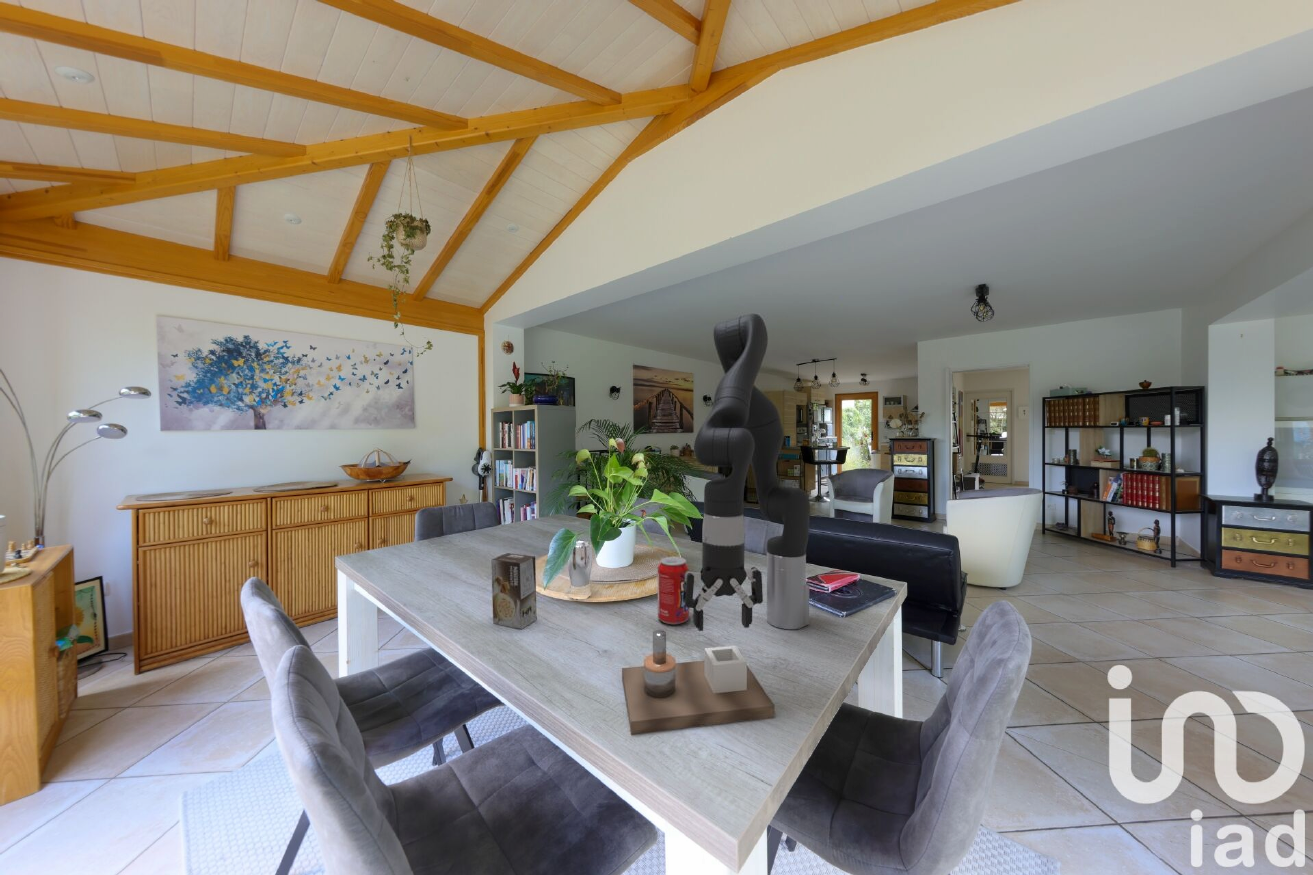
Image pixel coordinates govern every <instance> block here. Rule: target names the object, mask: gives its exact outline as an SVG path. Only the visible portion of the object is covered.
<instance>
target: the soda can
mask: <svg viewBox="0 0 1313 875" xmlns="http://www.w3.org/2000/svg"><path fill="white" fill-rule="evenodd" d="M659 561H660V562H659V564H658V566H657V618H658V620H660V621H661V622H663V623H665V624H667V625H672V626H673V625H674V626H675V625H681V624H683V623H685V622H687V621H688V620H689V619H690V608H687V607H686V605H685V603H684V602H683V590H684V575H685V571H686V570H689V571H690V566H689V564H688V563H687V559H685V558H683V557H679V556H668V557H667V556H666V557H663V558H661V559H660V560H659Z"/></svg>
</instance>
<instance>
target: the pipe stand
mask: <svg viewBox="0 0 1313 875" xmlns="http://www.w3.org/2000/svg"><path fill="white" fill-rule="evenodd" d="M621 679H622V680H621V681H622V687H623V692H624V698H625V700H624V701H625V705H626V706H625V707H626V711H627V712H626V713H627V716H628V717H627V718H628V722H629V730H630V734H631V735H633V734H634V735H635V734H642V733H643V734H644V733H652V732H659V731H669V730H677V729H686V728H693V727H701V726H712V725H719V724H728V723H729V724H730V723H736V722H737V723H738V722H747V721H755V720H762V719H764V720H765V719H770V718H772V719H773V718H776V717H775V715H776V714H775V708H776V707H775V704H774V702H773V701H772V699H771V697H769V695H768V693H767V692H766V691H765V689H764V688H763V686H762V685H761V683H760V682H759V680H758V679H757V678H756V676H755V674H753V672H752V670H751V669H750V667H749V666H748V665H747V690H742V691H732V692H723V693H713V691H712V689H711V687H710V685H709V683H708V681H707V679H706V677H705V663H704V660H697V661H695V660H694V661H686V662H684V661H683V662H676V658H675V657H674V656H672V655H671V654H668V653H667V631H665V630H662V629H657V630H656V629H655V630H654V631H653V632H652V654H649V655H647V656H645V658H643V666H642V665H640V666H630V667H622V668H621Z"/></svg>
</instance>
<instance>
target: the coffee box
mask: <svg viewBox="0 0 1313 875" xmlns="http://www.w3.org/2000/svg"><path fill="white" fill-rule="evenodd" d="M490 561H491V563H490V564H491V590H492V591H491V594H492V595H491V598H492V599H491V600H492V624H494V625H499V626H505V627H509V628H514V629H520V630H523V629H525V628H526V627H527V626H529V625H531V624H533V623H534V622H535V621H536V620H538V618H537V616H538V615H537V612H538V611H537V576H536V575H537V573H536V556H535V555H527V554H519V553H518V554H517V553H511V552H510V553H509V552H508V553H504V554H501V555H499V556H496V557H495V558H493V559H491V560H490Z"/></svg>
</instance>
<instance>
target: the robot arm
mask: <svg viewBox="0 0 1313 875" xmlns="http://www.w3.org/2000/svg"><path fill="white" fill-rule="evenodd" d="M768 340H769V338H768V331H767V327H766V324H765V321H764V319H763V318H762V316H760V315H759V314H757V313H747V314H744V315H740V316H737V317H735V318H734V317H733V318H731V319H727V320H724V321H720V322H718V323H717V324H715V326H714V328H713V341H714V342H713V343H714V346H715V350H716V353H717V356H718V358H719V361H720V364H721V367H722V369H723V372H724V375H723V377H722V378H721V380H720V381H719V383H718V385H717V387H716V390H715V393H714V397H713V403H712V408H711V411H710V413H709V414H708V415H707V417H706V419H705V421H704V422H703V424H702V426H701V427H700V429H699V430H698V431H697V435H696V436H695V439H694V444H693V453H694V456H695V459H696V461H697V462H698V463H699V464H700V465H702V466H705V467H713V468H714V467H717V468H719V467H720V468H721V467H722V468H732V471H731V474H730V475H729V476H727V477H725V478H719V479H712V480H709V481H707V482H706V483H705V485H704V491H703V496H704V497H703V498H704V499H703V521H702V536H701V537H702V538H701V539H702V542H701V543H702V548H701V549H702V550H701V551H702V556H701V559H702V560H701V569H700V571H699V572H698V571H697V572H696V571H691V570H690V569H689V570H686V571H685V575H684V590H683V602H684V603H685V605H686V607H687V608H689V609H690V608H691V609H693V611H692V613H693V615H692V616H693V617H692V618H693V619H692V620H693V621H692V622H693V624H694V626H695V628H696V629H697V631H698V632H703V631H704V610H703V608H704V607H705V606H706V604H707V602H710V601H711V599H712V598H713V597H714V596H715V597H716V598H717V597H723V596H726V597H727V596H728V597H731V596H732V597H734V595H735V594H737V596H738V597H739V598H740V600H741V601H742V602H743V603H741V625H742V626H743V627H744V628H745V629H747V628H750V625H752V623H753V607H754V606H755V605H757V604H762V603H763V601H764V596H763V593H764V592H763V574H762V571H760V570H759V569H758V568H757V567H754V566H752V567H751V568H750V569H745V541H746V532H745V519H744V518H745V517H744V492H745V486H746V481H747V476H748V472H749V468H750V465H751V470H752V474H753V479H754V483H755V489H756V495H757V496H756V497H757V502H758V506H759V509H760V510H759V511H760V513H761V515H762V516H763V518H764V519H765V520H766V521H768V522H770V523H775V524H779V525H782V526H783V527H782V528H783V530H782V534H781V535H776V536H773V537H770V538H768V540H767V542H766V621H767V623H768V624H770V625H771V626H773V627H776V628H779V629H785V630H799V629H801V628H804V627H805V626H810V586H809V585H808V584H807V583H806V582H807V581H806V580H807V565H806V564H807V559H806V558H807V545H808V542H809V536H810V522H811V521H810V517H811V502H810V497H809V495H808V493H807V491H805V490H804V489H801V488H798V487H791V486H782V485H781V483H780V480H779V477H778V473H777V472H778V471H777V461H778V458H779V455H780V453H781V449H782V446H783V443H784V438H785V435H784V430H783V425H782V424H783V423H782V421H781V417H780V413H779V410H778V408H777V406H776V405H775V403H774V402H773V401H772V400H771V399H770V398H769V397H768V396H767V395H766V394H765V393H764V392H763V391H762V390H760V389H759V388H758V387H757V386H756V385H755V382H756V380H757V376H758V374H759V372H760V369H761V366H762V364H763V360H764V358H765V355H766V351H767V350H768V348H767V347H768V342H769V341H768ZM746 579H748V580H749V581H750V584H751V585H750V588H751V595H748V593H747V592H746V591H745V590H744V589H743V587H742V585H743V584H744V582H745V581H746ZM699 580H701V582H702V583H703V584H702V585H701V587H700V588H699V591H698V593H697V595H696V596H695V597H694V587H695V585H697V584H698V581H699Z"/></svg>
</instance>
